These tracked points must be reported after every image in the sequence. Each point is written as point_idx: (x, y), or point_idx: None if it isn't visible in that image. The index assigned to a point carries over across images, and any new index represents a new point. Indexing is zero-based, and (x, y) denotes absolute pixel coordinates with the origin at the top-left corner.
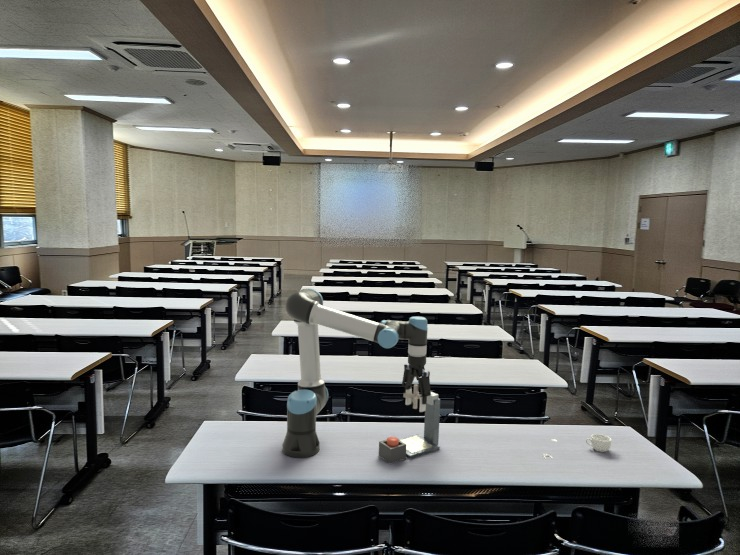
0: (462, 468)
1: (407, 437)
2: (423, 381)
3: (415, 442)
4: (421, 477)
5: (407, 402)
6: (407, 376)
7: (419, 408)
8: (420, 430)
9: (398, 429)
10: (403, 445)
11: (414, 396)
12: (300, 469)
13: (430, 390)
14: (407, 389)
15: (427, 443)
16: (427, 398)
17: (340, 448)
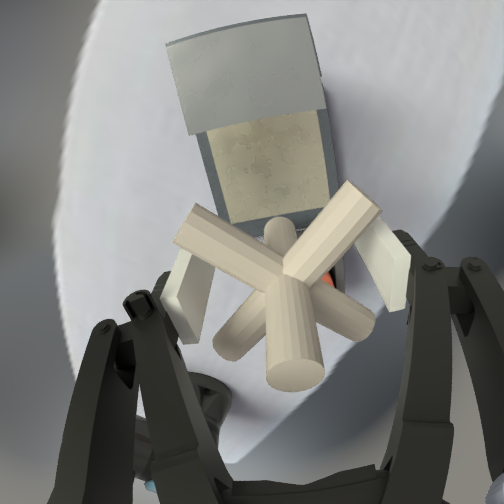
0: (445, 104)
1: (205, 162)
2: (486, 427)
3: (260, 154)
4: (428, 235)
5: (210, 265)
6: (113, 428)
7: (358, 250)
8: (137, 75)
9: (111, 153)
10: (343, 261)
11: (327, 320)
12: (271, 405)
13: (501, 288)
14: (180, 332)
15: (285, 114)
16: (368, 197)
17: (207, 344)
